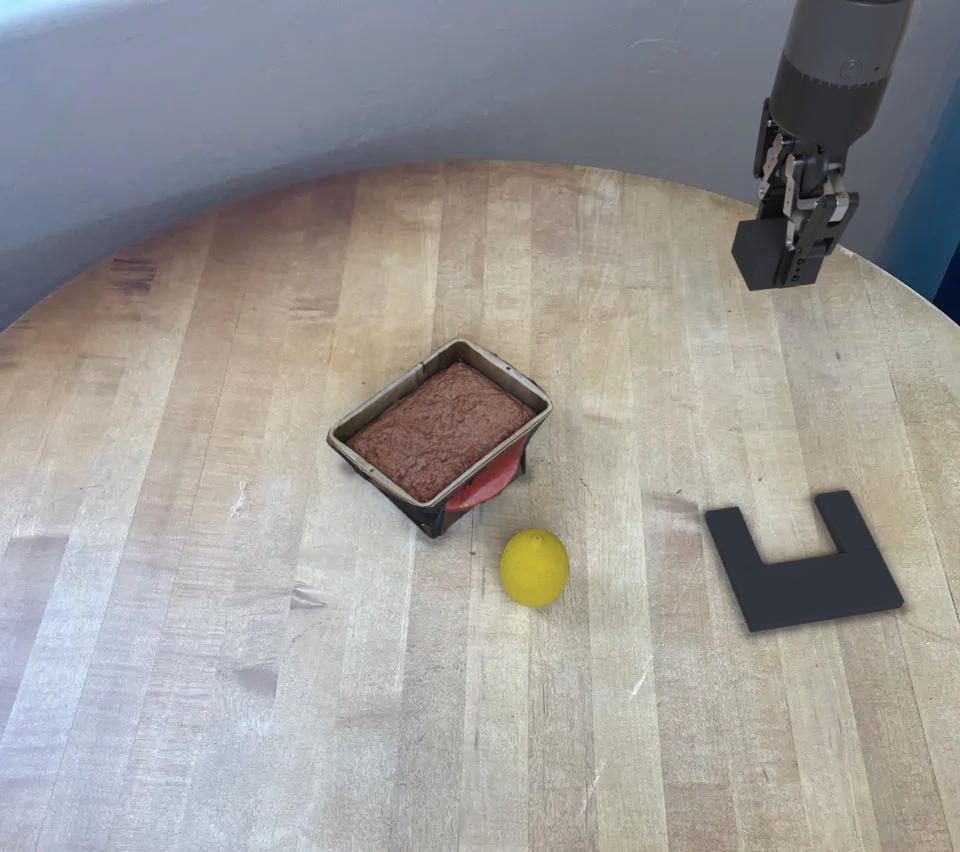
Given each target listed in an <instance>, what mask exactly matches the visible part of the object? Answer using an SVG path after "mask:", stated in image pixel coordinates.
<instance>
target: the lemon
mask: <svg viewBox="0 0 960 852" xmlns="http://www.w3.org/2000/svg"><path fill="white" fill-rule="evenodd" d="M569 574H570V561H569V555H568V552H567V549H566V547H565V545H564V543H563V542H562V541H561V539H560V538H559V537H558V536H557V535H556V534H554V533H553V532H552V531H549V530H546V529H543V528H527V529H524V530H521V531H520V532H518V533H516V534H515V535H513V536H512V538H511V539H509V540H508V542H507V544H506V545H505V547H504V549H503V552H502V554H501V556H500V560H499V579H500V583H501V586H502V588H503V590H504V592H505V593H506V595H507V596H508V597H509V599H511V600H512V601H513V602H515V603H517V604H518V605H521V606H523V607H527V608H541V607H544V606H548V605H550V604H551V603H553V602H554V601H555V600H556V599H557V598H559V597H560V595H561V594H562V593H563V591H564V589H565V587H566V585H567V583H568V580H569Z"/></svg>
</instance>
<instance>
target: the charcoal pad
mask: <svg viewBox="0 0 960 852" xmlns="http://www.w3.org/2000/svg"><path fill="white" fill-rule="evenodd" d="M814 504H815V506H816V508H817V510H818V512H819V514H820V517H821V519H822V521H823V523H824V525H825V528H826V529H827V531H828V533H829V535H830V537H831V539H832V542H833V544H834V546H835V548H836V550H837V552H838V553H833V554H827V555H821V556H815V557H808V558H803V559H795V560H789V561H784V562H777V563H771V564H764V563H763V561H762V559H761V556H760V554H759V551H758V549H757V547H756V543H755V541H754V540H753V538H752V537H753V536H752V535H751V533H750V530H749V528H748V525H747V523H746V520H745V518H744V516H743V514H742V512H741V511H742V510H741V508H740V507H739V506H732V507H731V506H730V507H725V508H718V509H711V510H707V511H706V513H705V515H704V521H705V523H706V525H707V528H708V531H709V533H710V535H711V538H712V540H713V543H714V546H715V548H716V551H717V553H718V555H719V558H720V561H721V564H722V566H723V568H724V570H725V573H726V576H727V578H728V580H729V583H730V586H731V589H732V590H733V594H734V595H735V598H736V601H737V603H738V605H739V608H740V611H741V613H742V616H743V619H744V622H745V623H746V626H747V628H748V631H749V633H751V634H752V633H757V632H762V631H771V630H775V629H781V628H787V627H788V628H789V627H794V626H799V625H800V626H801V625H807V624H812V623H818V622H823V621H830V620H836V619H843V618H847V617H848V618H849V617H854V616H861V615H866V614H872V613H879V612H884V611H890V610H896V609H897V610H899V609H901V608H902V607H903V605H904V604H905V600H904V598H903V595H902V593H901V592H900V590H899V587H898V585H897V584H896V581H895V580H894V577H893V575H892V573H891V572H890V569H889V568H888V567H889V566H888V565H887V563H886V562H885V559H884V558H883V556H882V554H881V551H880V549H879V547H878V545H877V544H876V542H875V540H874V538H873V536H872V533H871V532H870V530H869V528H868V525H867V524H866V522H865V520H864V518H863V515H862V514H861V512H860V510H859V508H858V506H857V504H856V502H855V500H854V498H853V496H852V494H851V492H850V490H849V489H846V490H845V489H844V490H839V491H831V492H825V493H819V494H816V497H815V499H814Z"/></svg>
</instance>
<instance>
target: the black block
mask: <svg viewBox="0 0 960 852" xmlns="http://www.w3.org/2000/svg"><path fill="white" fill-rule="evenodd" d="M808 221H809V219H804V220H803V221H802V222H801V224H800V230H799V233H803V231H804V229H805V227H806V225H807V223H808ZM787 225H788V218H787V217H786V216H785V217H775V218H766V219H756V218H755V219H754V218H753V219H745V220H739V221H738V224H737V228H736V231H735V235H734V239H733V243H732V247H731V251H730V253H731V255H732V258H733V260H734V261H735V264H736V266H737V268H738V270H739V273H740V275H741V276H742V278H743V281H744V283H745V285H746V287H747V289H748V291H749V292H756V291H764V290H772V289H777V288H776V286H775V284H774V282H773V277H774V274H775V271H776V268H777V265H778V262H779V258H780V255H781V252H782V249H783V246H784V244H785V240H786V232H787ZM825 257H826V256H821V257H812V258H810V261H809V264H808V267H807V270H806V272H805V275H804V278H803V281H802V282H801V284H800V285H798V286H797V287H800V286H808V285H809V286H810V285H815V284H816V281H817V279H818V276H819V274H820V270H821V268H822V265H823V263H824V259H825Z"/></svg>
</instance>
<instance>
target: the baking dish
mask: <svg viewBox="0 0 960 852" xmlns="http://www.w3.org/2000/svg"><path fill="white" fill-rule="evenodd" d="M553 410H554V405H553V401H552V400H551V398H550V397H549V395H548V394H547V392H546V391H545V390H544V389H543V388H542V387H540V386H539V385H538V383H537V382H536V381H535V380H533V379H531V378H530V377H528V376H526V375H525V374H524V373H522V372H520V371H518V369H517V368H516V367H514V366H513V365H512V364H510V363H509V362H508V361H506V360H504V359H503V358H501V357H499V355H498V354H497V353H494V352H493V351H490V350H488V349H486V348H484V347H482V346H481V345H479V344H477V343H475V342H472V341H471V340H470V339H467V338H463V337H453V338H452V339H450V340H448V341H446V342H445V343H443V344H442V345H441V346H439V347H437V348H436V349H435V350H434V351H433V352H432V353H431V354H429V355H428V356H426V358H424V359H423V360H422V361H420V362H418V364H416V365H414V366H413V367H412V368H410V369H409V370H408V371H406V372H405V373H404V374H403V375H401V376H400V377H399V378H397V379H396V380H394V381H392V382H391V383H390V384H389V385H387V386H386V387H384V388H383V389H381V390H380V391H378V392H377V393H376V394H374V396H372V397H370V398H369V399H367V400H366V401H365V402H363V403H362V404H361V405H359V406H358V407H357V408H356V409H354V410H352V411H351V412H349V413H348V414H347V415H345V416H344V417H342V418H341V419H339V420H338V421H337V422H336V423H334V424H333V425H332V426H331V427H330V428H329V430H328V432H327V435H326V439H325V441H326V443H327V445H328V446H329V447H330V448H331V449H332V450H333V451H334V452H335V453H336V454H338V455H339V456H340V457H341V458H342V459H343V460H345V461H346V463H348V466H351V468H352V470H353V471H354V472H355V473H356V474H358V475H359V476H360V477H361V478H362V479H363V480H364V481H367V482H368V483H370V484H371V485H373V487H375V489H377V490H378V491H379V493H381V494H382V495H384V496H385V498H386V499H388V500H389V502H391V503H392V504H393V505H394V506H395V507H396V508H397V509H398V510H399V511H400V512H401V513H403V515H405V516H406V517H407V518H408V519H409V520H410V521H411V522H412V523H413V524H414V525H415V526H416V527H417V528H419V530H420V531H422V532H423V533H424V534H425V535H426V536H427V537H428V538H429V539H433V540H436V538H438V537H441V536H443V535H444V534H445V533H446V532H447V531H448V529H449V528H451V526H452V525H453V524H455V523H456V522H457V521H458V520H460V519H461V518H462V517H463V516H465V515H466V514H467V513H468V512H470V511H471V510H472V509H473V508H475V507H476V506H477V505H479V504H480V505H481V504H482V505H483V504H485V503H486V502H487V501H489V500H491V499H493V498H496V497H498V496H500V495H501V494H502V493H503V492H504V490H505V489H507V488H508V487H509V486H510V485H511V484H512V483H513V482H514V481H516V480H517V479H518V478H519V477H521V476H524V475H525V474H526V473H527V472H526V469H527V468H526V467H527V465H526V459H527V458H526V457H527V456H526V452H527V451H526V449H527V447H528V445H529V443H530V441H531V438H532V437H533V436H534V435H535V433H536V432H537V431H538V430H539V428H540V427H541V426H542V424H543V423H544V421H546V419H547V417H548V416H549V415H550V414H551V413H552V411H553Z"/></svg>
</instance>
